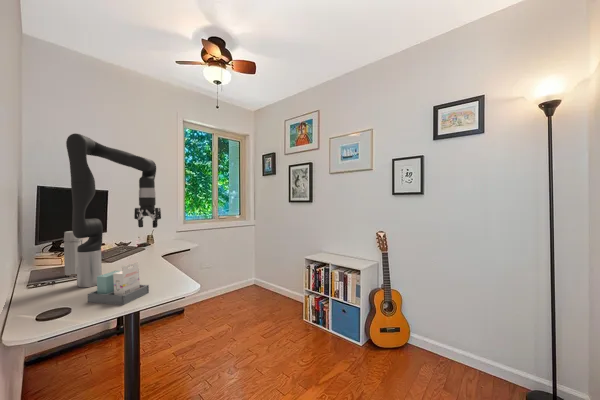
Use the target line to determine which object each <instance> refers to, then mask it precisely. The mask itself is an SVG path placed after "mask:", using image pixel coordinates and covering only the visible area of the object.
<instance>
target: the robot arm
mask: <svg viewBox="0 0 600 400" xmlns="http://www.w3.org/2000/svg"><path fill="white" fill-rule="evenodd" d="M65 146H66V150H67V156H68V161H69V171H70V172H69V173H70V188H71V189H70V190H71V198H72V201H71V202H72V216H71V217H72V222H71V229H72V230H71V231H73V234H74V236H75V237H76V238H81V239H85V238H88V239H87V240H86V241H84V242H82V244H81V243H80V245H79V246H78V248H77V252H78V267H77V276H76V286H77V287H79V288H90V287H94V286H95V287H96V286H97V276H100V275H103V273H102V272H103V271H102V245H103V233H104V232H103V231H104V230H103V229H104V226H103V223H102V220H101V219H99V218H86V211H87V208H88V206H89V204H90V203H91V202H92V200H93V199H94V196H95V195H96V190H97V189H96V181H95V178H94V174H93V172H92V170H91V169H90V167H89V164H88V159H87V156H93V157H99V158H102V159H105V160H108V161H111V162H113V163H116V164H118V165H121V166H126V167H128V168H131V169H132V168H133V169H134V170H137V171H140V172H142V173H141V177H139V180H138V187H139V189H138V206H139V207H135V208H134V215H133V216H134V217H133V218H134V219H135V220H137V224H138V225H137V226H138V227H139V228H143V227H144V218H145V217H150V218H151V219H152V228H155V229H156V228H158V220H161V219H162V213H161V212H162V210H161V208H160V207H155V206H156V204H157V203H156V190H155V189H156V188H155V187H156V186H155V179H156V175H157V165H156V162H155V161H154V160H152V159H149V158H146V157H143V156H140V155H136V154H134V153H131V152H128V151H125V150H121V149H117V148H113V147H109V146H106V145H103V144H101V143H99V142H97V141H96V140H93V139H92V138H90V137H88V136H86V135H83V134H80V133H71V134H70V135H68V136H67V138H66V141H65Z"/></svg>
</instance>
